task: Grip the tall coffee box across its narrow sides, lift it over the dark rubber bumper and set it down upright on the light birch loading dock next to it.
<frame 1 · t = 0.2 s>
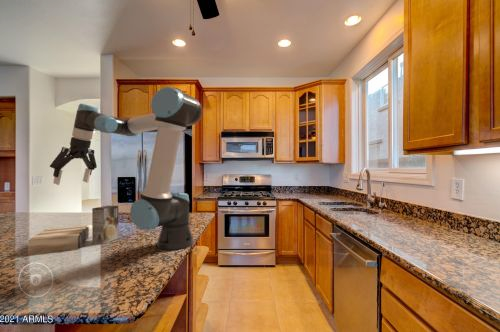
hand: (71, 182, 109), 27 cm above the counter, tool tilted 15°, fingers open, 13 cm apart
coffee box: (105, 241, 111), on the counter
loading dock: (60, 245, 104), on the counter
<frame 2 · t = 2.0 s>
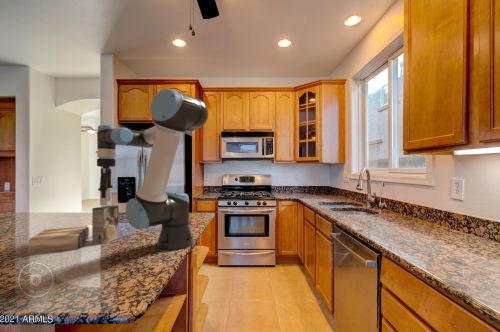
hand: (105, 203, 112), 18 cm above the counter, tool pointing down, fingers open, 13 cm apart
nothing on the counter moved.
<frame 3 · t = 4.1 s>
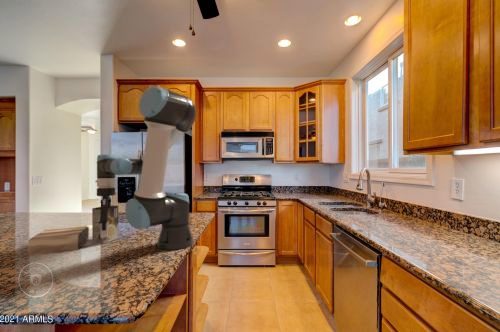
hand: (105, 234, 111), 3 cm above the counter, tool pointing down, fingers closed on coffee box, 10 cm apart
coffee box: (105, 241, 111), on the counter, touching gripper
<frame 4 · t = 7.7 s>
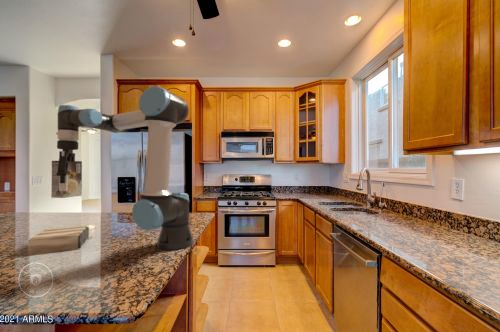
hand: (66, 189, 106), 24 cm above the counter, tool pointing down, fingers closed on coffee box, 10 cm apart
coffee box: (66, 197, 106), point 21 cm above the counter, touching gripper
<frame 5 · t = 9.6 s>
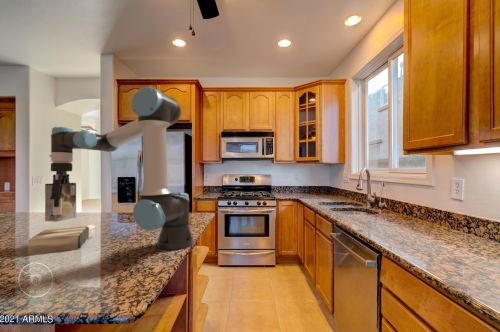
hand: (61, 212, 104), 15 cm above the counter, tool pointing down, fingers closed on coffee box, 10 cm apart
coffee box: (60, 219, 104), point 11 cm above the counter, touching gripper
when the fingers open (10 cm above the counter, at t = 11.4 s): coffee box drops 1 cm, resting on loading dock.
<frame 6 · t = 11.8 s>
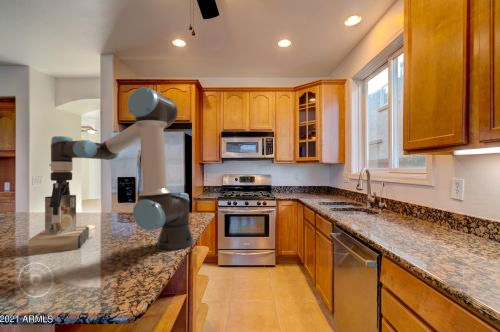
hand: (61, 219, 104), 11 cm above the counter, tool pointing down, fingers open, 13 cm apart
coffee box: (60, 232, 104), point 6 cm above the counter, touching loading dock
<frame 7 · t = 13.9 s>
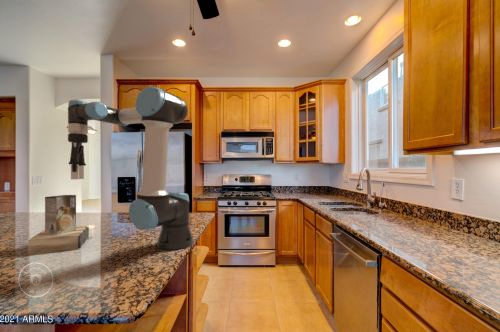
hand: (77, 179, 111), 29 cm above the counter, tool pointing down, fingers open, 13 cm apart
nothing on the counter moved.
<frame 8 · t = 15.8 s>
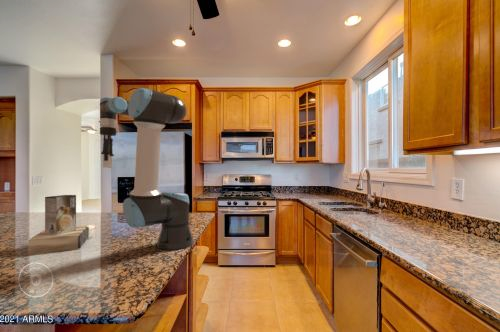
hand: (107, 167, 125), 35 cm above the counter, tool pointing down, fingers open, 13 cm apart
nothing on the counter moved.
at the end: coffee box inside the target area on the loading dock (0.3 cm from its centre), point 5.8 cm above the loading dock's base; coffee box tilted 0°; the gripper is holding nothing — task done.
